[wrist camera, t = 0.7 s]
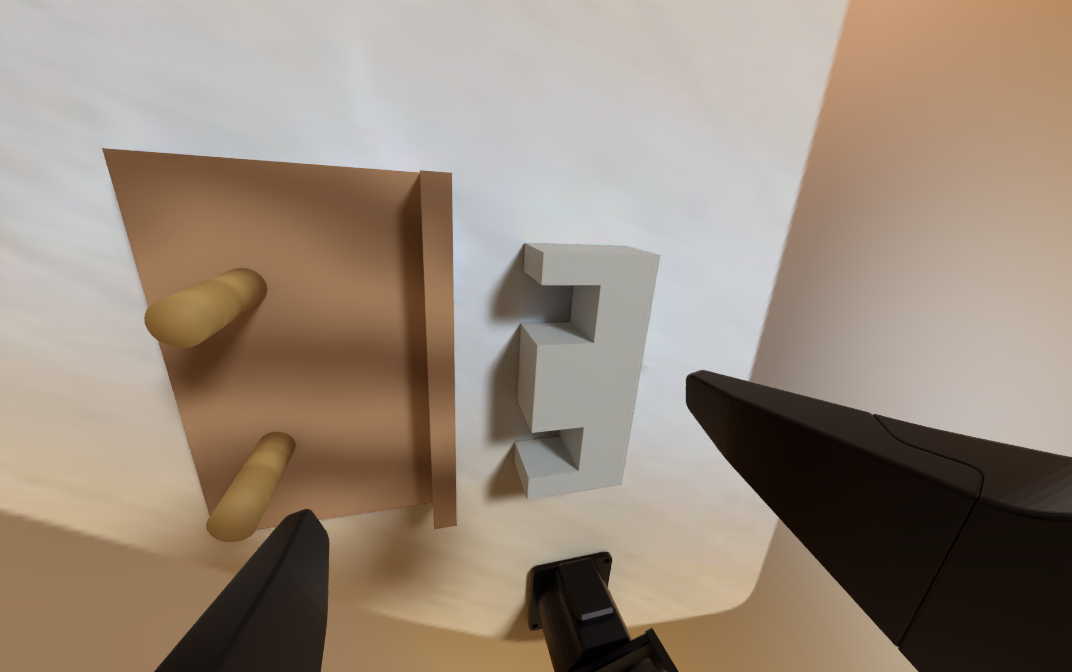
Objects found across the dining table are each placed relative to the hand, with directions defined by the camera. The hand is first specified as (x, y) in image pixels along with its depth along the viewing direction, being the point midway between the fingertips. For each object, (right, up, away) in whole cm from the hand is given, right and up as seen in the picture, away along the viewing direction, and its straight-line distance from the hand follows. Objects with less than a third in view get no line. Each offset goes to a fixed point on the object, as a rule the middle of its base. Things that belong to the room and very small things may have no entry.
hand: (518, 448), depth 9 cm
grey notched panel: (+2, +1, +15) cm, 15 cm away
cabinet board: (-10, +2, +11) cm, 15 cm away
